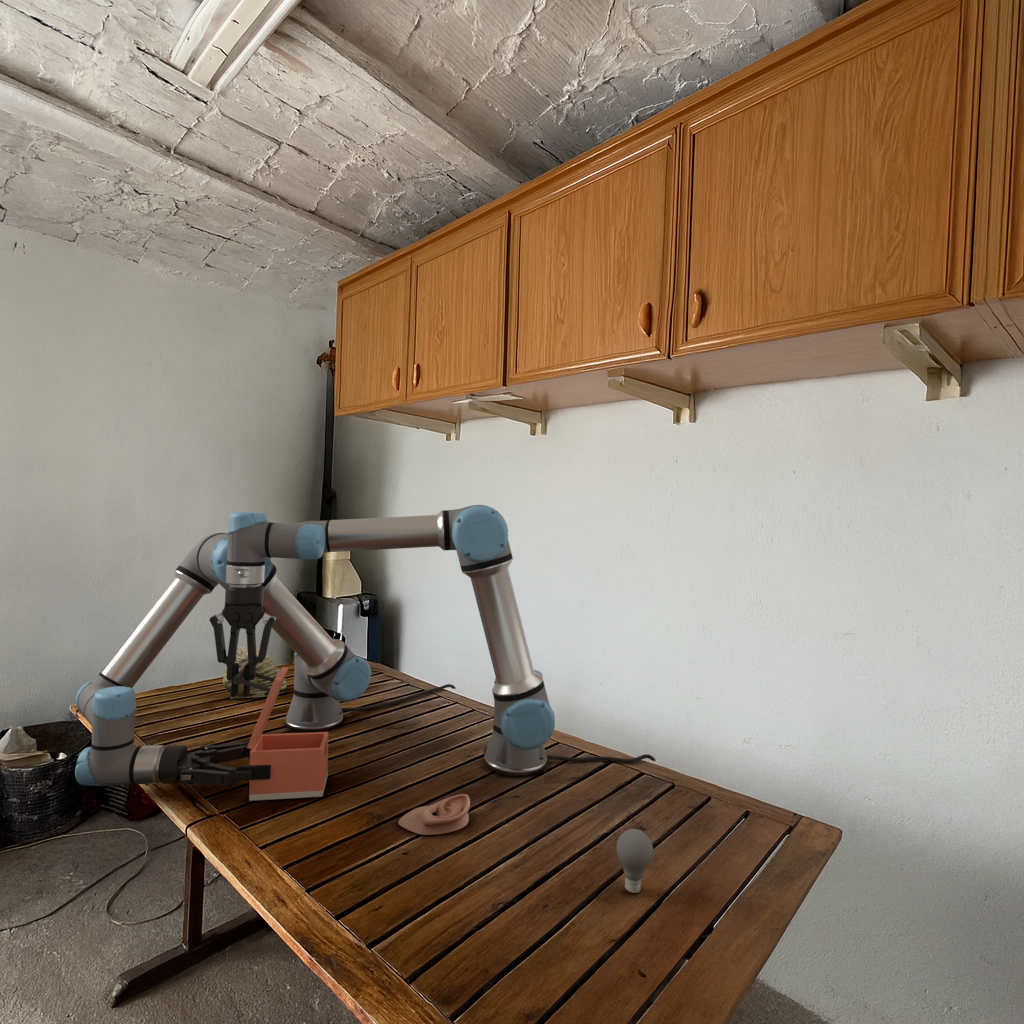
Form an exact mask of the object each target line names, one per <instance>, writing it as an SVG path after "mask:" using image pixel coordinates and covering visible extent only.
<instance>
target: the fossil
mask: <svg viewBox="0 0 1024 1024" xmlns="http://www.w3.org/2000/svg"><path fill="white" fill-rule="evenodd" d="M259 649H260V647H258V648H257V647H256V655H257V656H258V654H259ZM235 663H239V671H240V670H241V669H242V668H243V667H244V666H245V665H246V664H247V663H248V649H247V646H246V647H245V646H237V653H236V661H235ZM225 665H226V664H225ZM280 670H281V669H279V668H278V667H277V665H276V663H275V662H274V660H273V659H272V658H271V657H270V656H269V655H268V654H267V653H266V658H265V659H264V661H263V662H262V663H258V664H256V672H257V673H260V674H263V675H266V676H269V677H272V678H276V676H277V675H278V673H279V672H280ZM222 676H223V677H222V685H223V687H224V688H225V690H226V691H228V693H229V698H230V699H250V698H264V697H268V694H269V692H267V691H263V690H260V689H257V688H254V687H251V686H250V694H249V695H248V696H247V697H243V689H244V684H242V683H240V684H238V694H237V695H236V696H235V697H231V682H232V680H227V665H226V666H225V668H224V671H223V675H222ZM243 680H244V679H243ZM250 682H253V683H256V684H259V685H262V686H265V687H268V688H271V687H272V685H273V682H271V681H268V680H265V679H262V678H259V677H256V676H255V678H254V680H250ZM287 687H288V686H287V680H286V678H285V679H284V681H283V684H282V686H281V689H280V691H279V694H278V695H281V694H284V693H285V691H286V689H287Z"/></svg>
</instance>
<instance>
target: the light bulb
mask: <svg viewBox="0 0 1024 1024" xmlns="http://www.w3.org/2000/svg"><path fill="white" fill-rule="evenodd" d="M615 849H616V854H617V857H618V859H619V861H620V863H621V865H622V867H623V873H624V874H623V875H624V876H625V878H624V888H625V890H627V891H628V892H630V893H634V894H635V893H639V892H640V891H641V889H642V887H641V886H642V879H643V877H644V875H645V871H646V868H647V867H648V866H649V864H650V863H651V861H652V859H653V855H654V847H653V843H652V841H651V838H649V836H648V835H647V834H646V833H645V832H643V831H642V830H641V829H636V828H629V829H627V830H625V831H623V832H622V833H621V834H620V835H619V837H618V839H617V841H616V847H615Z"/></svg>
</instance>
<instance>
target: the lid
mask: <svg viewBox="0 0 1024 1024" xmlns="http://www.w3.org/2000/svg"><path fill="white" fill-rule="evenodd" d="M279 670H280V672H279V673H278V675H277V676H276V678H272V677H269V676H266V675H263V674H260V673H257V672H256V677H259V678H262V679H265V680H268V681H271V682H273V685H272V687H271V688H268V687H265V686H262V685H259V684H256V683H253V682H250V681H247V680H243V679H244V667H243V668H242V669H241V670H240V671H239V672H238V673H237V675H236V676H235V677H234V678H233V680H232V681H233V683H234V684H236V685H237V684H240V683H242V684H245V685H248V686H251V687H254V688H257V689H260V690H263V691H267V692H269V694H268V696H266V699H265V702H264V705H263V707H262V709H261V711H260V715H259V717H258V719H257V721H256V725H255V727H254V729H253V732H252V734H251V737H250V739H249V744H248V747H247V748H249V749H252V750H253V749H254V747H255V745H256V744H257V742H258V740H259V738H260V737H261V735H263V733H264V730H265V728H266V726H267V722H268V721H269V718H270V716H271V714H272V711H273V708H274V706H275V704H276V701H277V699H278V696H279V695H280V694H279V691H280V689H281V686H282V684H283V681H284V679H285V680H286V676H287V673H288V671H289V667H286V666H282V667H281V669H279Z"/></svg>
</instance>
